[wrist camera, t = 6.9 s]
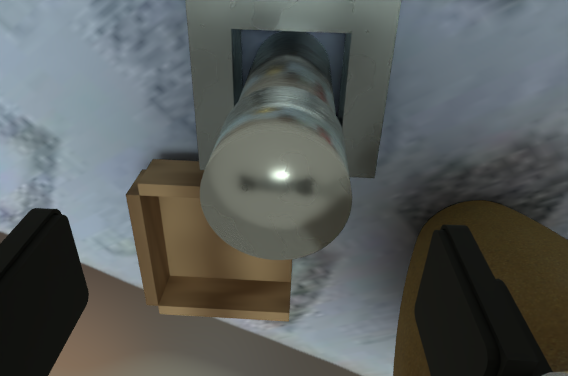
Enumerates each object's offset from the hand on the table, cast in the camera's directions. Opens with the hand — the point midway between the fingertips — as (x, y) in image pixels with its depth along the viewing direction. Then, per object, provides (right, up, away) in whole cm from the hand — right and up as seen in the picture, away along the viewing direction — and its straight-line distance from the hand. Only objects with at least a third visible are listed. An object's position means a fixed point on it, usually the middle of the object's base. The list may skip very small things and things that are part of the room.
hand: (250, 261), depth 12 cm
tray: (-3, 0, +20) cm, 21 cm away
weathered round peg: (+1, +9, +14) cm, 17 cm away
